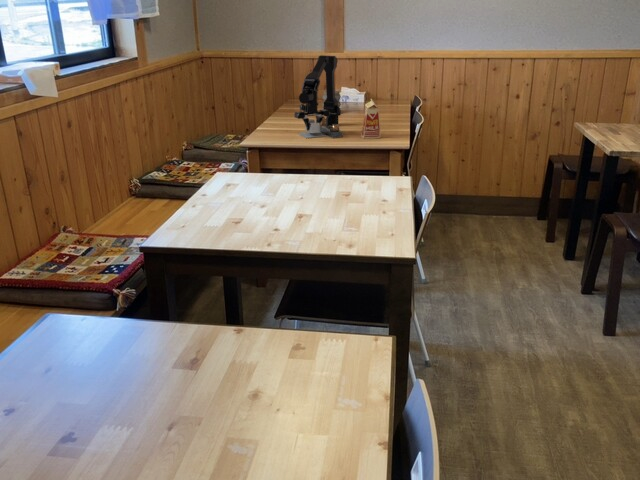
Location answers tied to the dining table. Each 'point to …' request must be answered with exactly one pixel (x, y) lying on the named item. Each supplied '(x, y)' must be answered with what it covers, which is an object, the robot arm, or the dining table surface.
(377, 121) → the milk carton
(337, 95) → the tankard
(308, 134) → the rubber mat
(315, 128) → the grey metal block
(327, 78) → the robot arm
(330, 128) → the hand plane
